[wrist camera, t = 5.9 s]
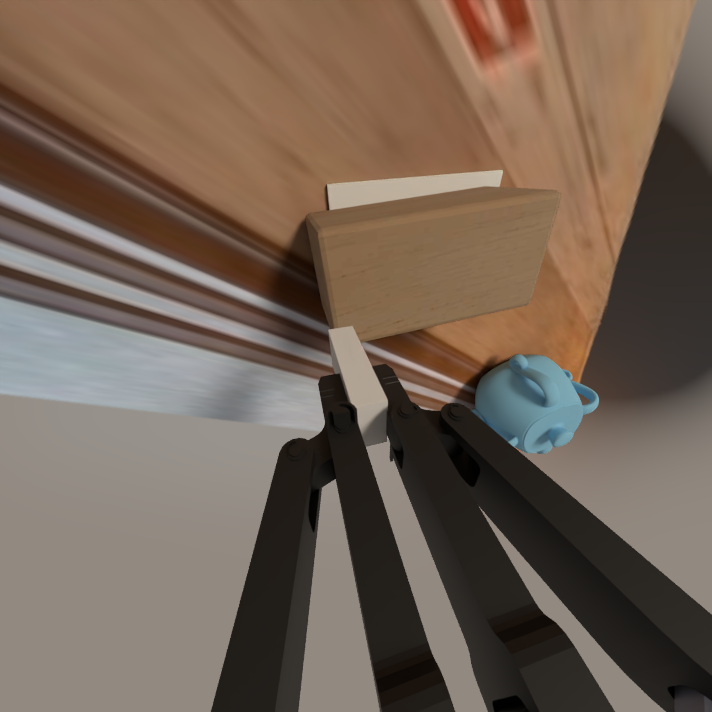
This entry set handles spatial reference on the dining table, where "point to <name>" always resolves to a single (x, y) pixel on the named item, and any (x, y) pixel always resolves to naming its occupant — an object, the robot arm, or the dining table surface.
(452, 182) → the mat
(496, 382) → the decorative pot
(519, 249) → the wooden block
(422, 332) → the dining table surface
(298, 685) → the robot arm
